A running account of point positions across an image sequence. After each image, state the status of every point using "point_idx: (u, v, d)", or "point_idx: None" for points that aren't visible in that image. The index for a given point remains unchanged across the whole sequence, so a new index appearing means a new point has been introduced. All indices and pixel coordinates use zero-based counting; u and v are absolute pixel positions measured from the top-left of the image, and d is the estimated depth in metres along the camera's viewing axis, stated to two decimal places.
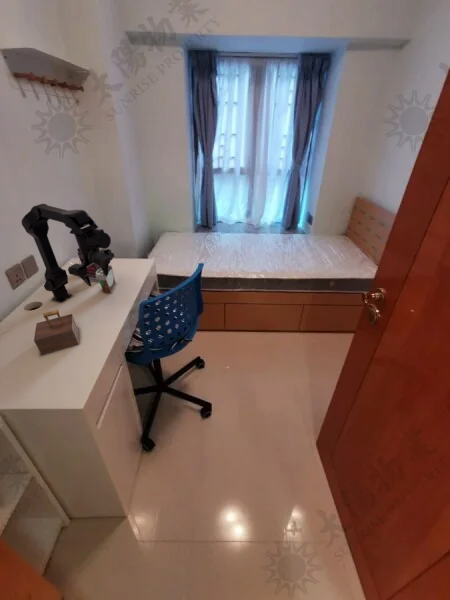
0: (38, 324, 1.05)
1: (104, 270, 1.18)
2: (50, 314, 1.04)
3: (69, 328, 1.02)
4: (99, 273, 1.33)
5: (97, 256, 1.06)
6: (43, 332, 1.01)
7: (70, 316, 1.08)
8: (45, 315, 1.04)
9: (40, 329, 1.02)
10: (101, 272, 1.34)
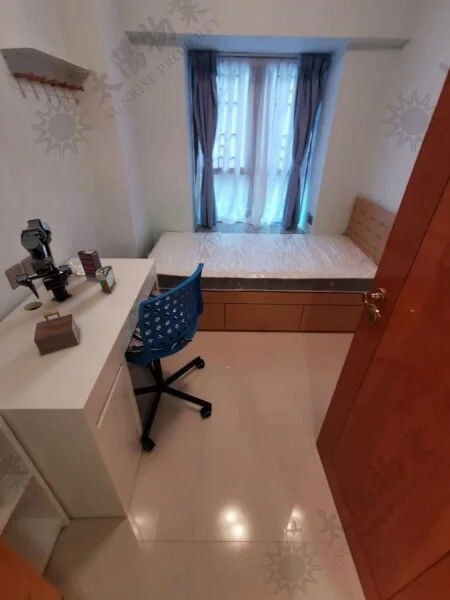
0: (38, 324, 1.05)
1: None
2: (50, 314, 1.04)
3: (69, 328, 1.02)
4: (99, 273, 1.33)
5: None
6: (43, 332, 1.01)
7: (70, 316, 1.08)
8: (45, 315, 1.04)
9: (40, 329, 1.02)
10: (101, 272, 1.34)
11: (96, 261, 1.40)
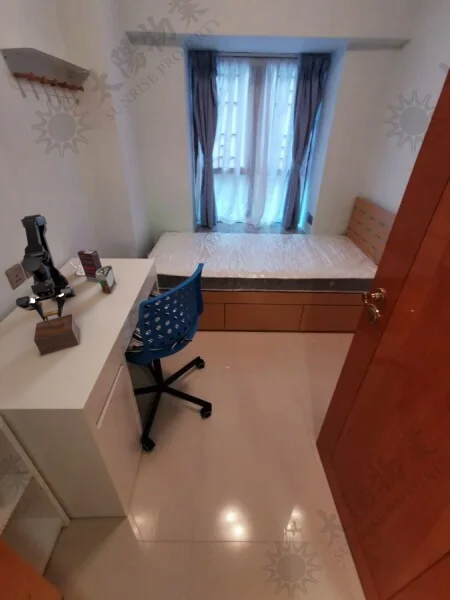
0: (38, 324, 1.05)
1: None
2: (50, 314, 1.04)
3: (69, 328, 1.02)
4: (99, 273, 1.33)
5: None
6: (43, 332, 1.01)
7: (70, 316, 1.08)
8: (45, 315, 1.04)
9: (40, 329, 1.02)
10: (101, 272, 1.34)
11: (96, 261, 1.40)
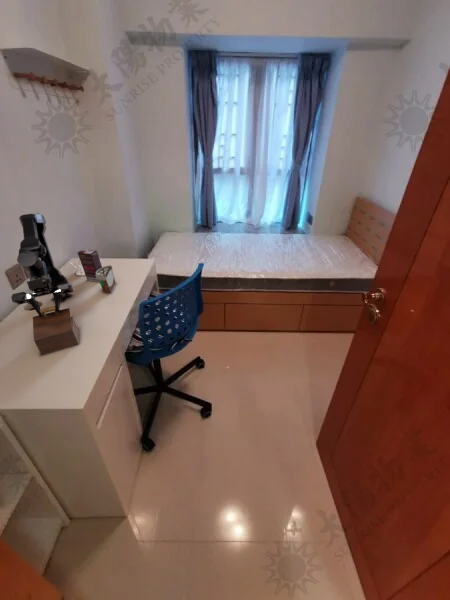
0: (35, 319, 1.03)
1: None
2: (47, 311, 1.02)
3: (69, 327, 1.02)
4: (99, 273, 1.33)
5: None
6: (42, 331, 1.00)
7: (67, 311, 1.06)
8: (42, 312, 1.01)
9: (38, 326, 1.01)
10: (101, 272, 1.34)
11: (96, 261, 1.40)
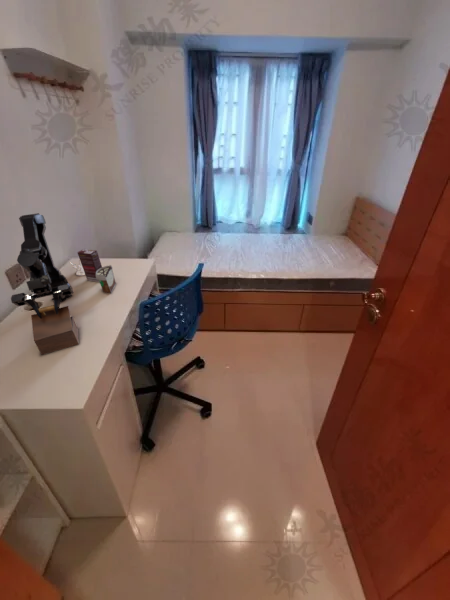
0: (33, 317, 1.02)
1: None
2: (46, 310, 1.01)
3: (69, 327, 1.02)
4: (99, 273, 1.33)
5: None
6: (42, 330, 1.00)
7: (67, 309, 1.06)
8: (41, 311, 1.00)
9: (38, 325, 1.00)
10: (101, 272, 1.34)
11: (96, 261, 1.40)
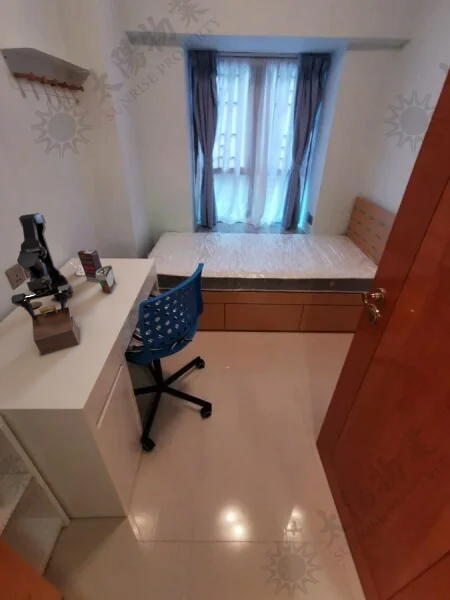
0: None
1: None
2: (47, 310, 1.01)
3: (69, 327, 1.02)
4: (99, 273, 1.33)
5: None
6: (42, 331, 1.00)
7: (67, 310, 1.06)
8: (41, 311, 1.01)
9: (38, 326, 1.01)
10: (101, 272, 1.34)
11: (96, 261, 1.40)
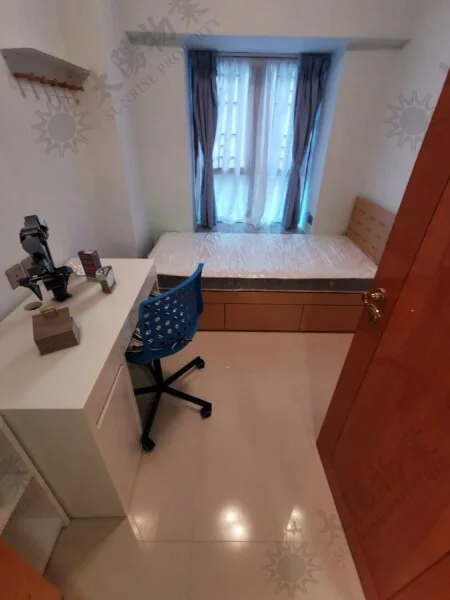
0: (34, 318, 1.02)
1: None
2: (47, 310, 1.01)
3: (69, 327, 1.02)
4: (99, 273, 1.33)
5: None
6: (42, 331, 1.00)
7: (67, 310, 1.06)
8: (41, 311, 1.01)
9: (38, 326, 1.01)
10: (101, 272, 1.34)
11: (96, 261, 1.40)
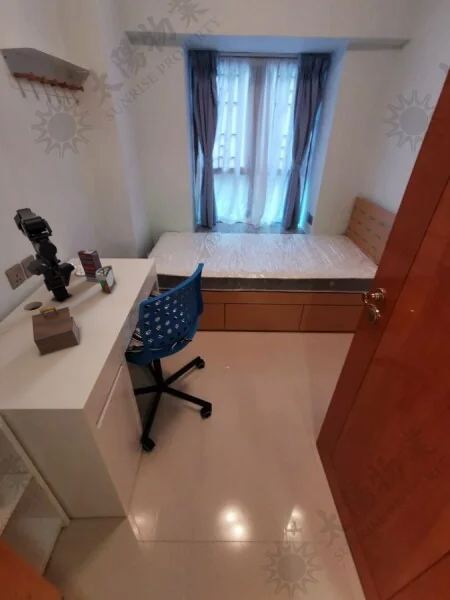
0: (34, 318, 1.02)
1: None
2: (47, 310, 1.01)
3: (69, 327, 1.02)
4: (99, 273, 1.33)
5: (32, 263, 1.07)
6: (42, 331, 1.00)
7: (67, 310, 1.06)
8: (41, 311, 1.01)
9: (38, 326, 1.01)
10: (101, 272, 1.34)
11: (96, 261, 1.40)
